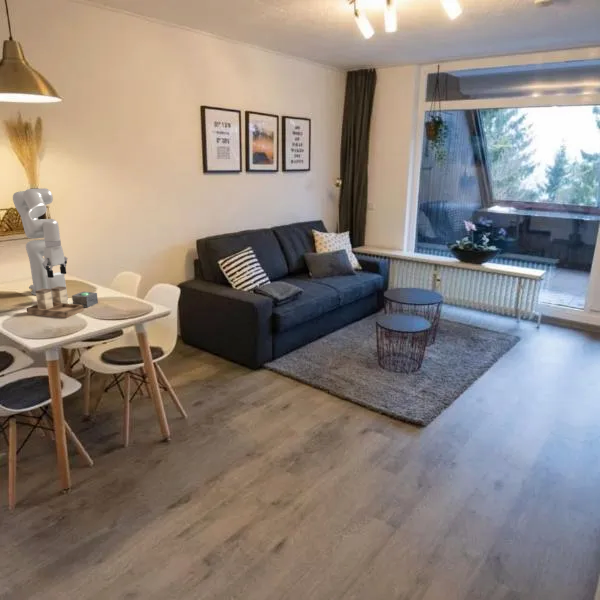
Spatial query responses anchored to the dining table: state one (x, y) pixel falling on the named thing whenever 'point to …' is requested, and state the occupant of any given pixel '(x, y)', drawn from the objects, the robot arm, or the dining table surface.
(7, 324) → the dining table surface
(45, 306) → the block
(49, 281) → the skincare box
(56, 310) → the tray
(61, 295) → the block
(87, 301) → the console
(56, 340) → the dining table surface
